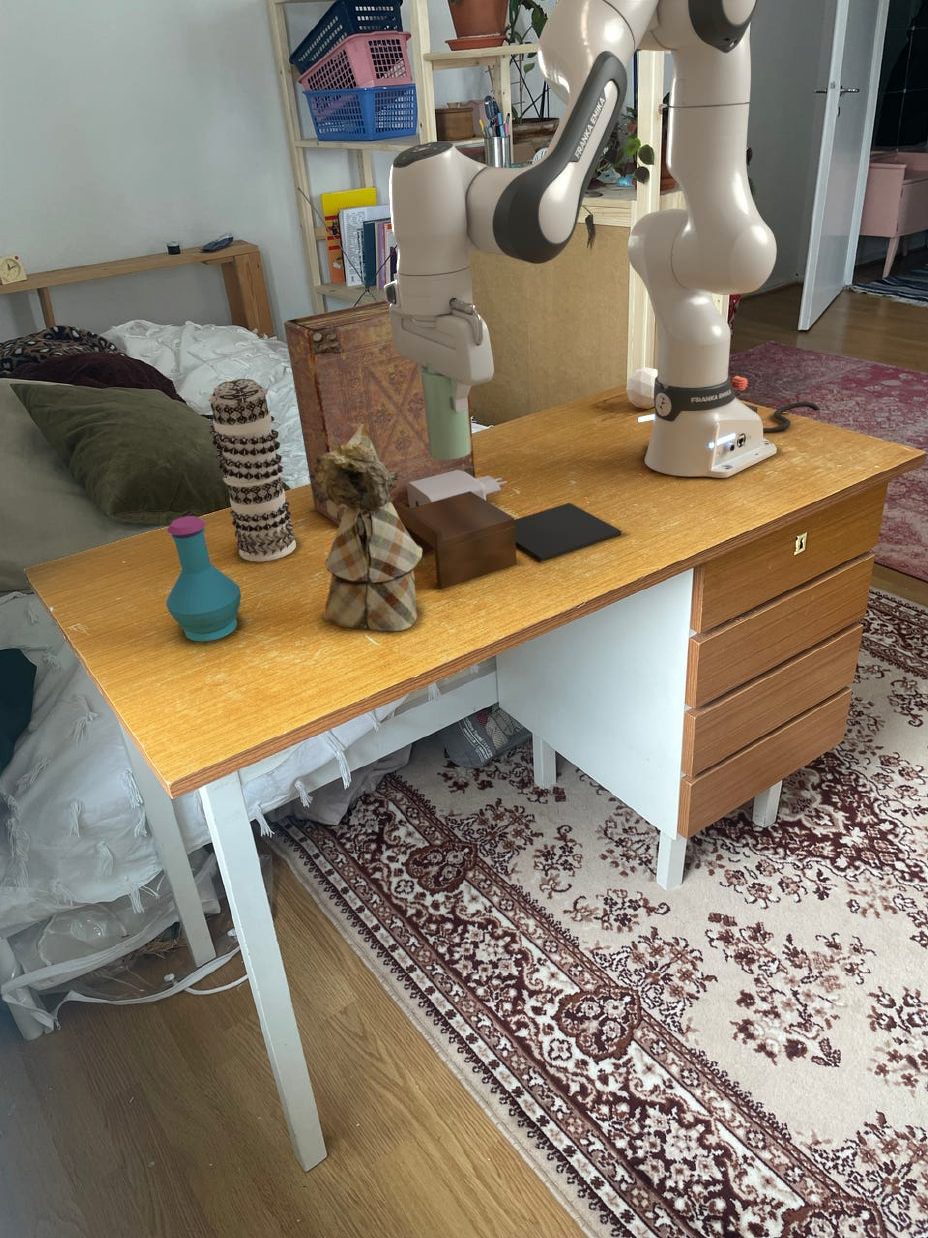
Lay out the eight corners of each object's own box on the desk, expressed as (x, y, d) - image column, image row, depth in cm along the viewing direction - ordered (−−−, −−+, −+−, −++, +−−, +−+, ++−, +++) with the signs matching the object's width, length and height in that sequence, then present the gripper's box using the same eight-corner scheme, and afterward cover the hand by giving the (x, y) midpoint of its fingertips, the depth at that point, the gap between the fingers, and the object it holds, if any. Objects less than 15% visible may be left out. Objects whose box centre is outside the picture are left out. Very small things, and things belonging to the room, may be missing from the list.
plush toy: (467, 606, 119) (415, 413, 110) (384, 653, 112) (321, 451, 103) (401, 594, 130) (349, 417, 121) (321, 636, 122) (259, 451, 113)
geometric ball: (653, 422, 184) (661, 398, 177) (616, 406, 185) (622, 381, 178) (668, 394, 187) (677, 369, 179) (631, 378, 188) (639, 352, 181)
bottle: (458, 441, 128) (447, 318, 120) (479, 452, 124) (469, 325, 115) (422, 451, 126) (408, 326, 117) (442, 463, 122) (429, 334, 113)
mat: (569, 506, 146) (569, 502, 146) (621, 534, 136) (621, 530, 136) (492, 530, 141) (492, 526, 140) (540, 561, 131) (540, 557, 130)
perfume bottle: (261, 623, 121) (239, 517, 114) (201, 654, 116) (174, 545, 108) (219, 603, 127) (195, 500, 119) (160, 632, 121) (131, 526, 114)
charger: (519, 503, 148) (434, 528, 143) (490, 485, 156) (408, 508, 150) (517, 475, 146) (431, 499, 140) (489, 458, 153) (405, 480, 148)
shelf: (473, 534, 140) (469, 481, 136) (516, 563, 131) (514, 508, 126) (401, 556, 135) (395, 502, 131) (441, 589, 126) (435, 532, 122)
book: (446, 469, 163) (431, 290, 148) (476, 484, 156) (463, 298, 141) (314, 510, 152) (283, 320, 137) (340, 528, 145) (310, 331, 130)
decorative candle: (232, 543, 143) (197, 380, 131) (292, 530, 146) (263, 370, 133) (240, 567, 136) (203, 398, 123) (303, 554, 138) (274, 386, 125)
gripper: (502, 301, 108) (509, 417, 115) (420, 277, 123) (431, 381, 130) (454, 311, 105) (464, 430, 112) (377, 285, 121) (390, 391, 128)
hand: (446, 403), depth 122 cm, fingers closed on bottle, 5 cm apart
